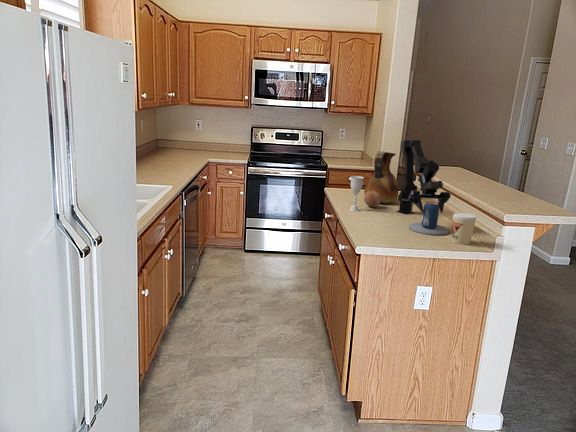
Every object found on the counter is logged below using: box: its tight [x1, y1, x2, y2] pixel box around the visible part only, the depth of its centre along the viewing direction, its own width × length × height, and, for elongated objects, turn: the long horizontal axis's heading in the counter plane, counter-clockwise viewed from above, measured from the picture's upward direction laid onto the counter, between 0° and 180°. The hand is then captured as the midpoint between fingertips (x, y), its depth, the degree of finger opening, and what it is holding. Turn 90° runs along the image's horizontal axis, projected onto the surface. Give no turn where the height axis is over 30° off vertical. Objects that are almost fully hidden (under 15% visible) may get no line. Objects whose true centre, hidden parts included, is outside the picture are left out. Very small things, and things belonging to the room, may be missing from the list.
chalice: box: [349, 175, 365, 212], centre depth 248 cm, size 7×7×18 cm
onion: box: [363, 190, 382, 208], centre depth 257 cm, size 10×9×10 cm
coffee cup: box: [451, 212, 477, 246], centre depth 199 cm, size 9×9×12 cm
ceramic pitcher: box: [363, 151, 400, 204], centre depth 271 cm, size 20×20×30 cm
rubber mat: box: [408, 222, 450, 236], centre depth 217 cm, size 18×18×1 cm
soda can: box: [421, 201, 440, 230], centre depth 216 cm, size 7×7×12 cm
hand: (432, 212), depth 214 cm, fingers open, 9 cm apart
